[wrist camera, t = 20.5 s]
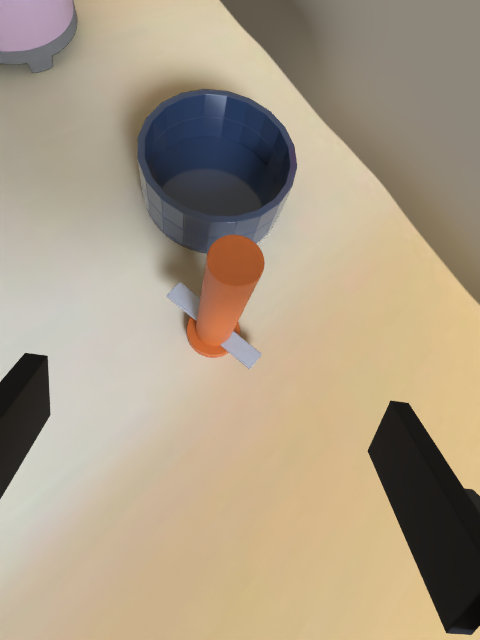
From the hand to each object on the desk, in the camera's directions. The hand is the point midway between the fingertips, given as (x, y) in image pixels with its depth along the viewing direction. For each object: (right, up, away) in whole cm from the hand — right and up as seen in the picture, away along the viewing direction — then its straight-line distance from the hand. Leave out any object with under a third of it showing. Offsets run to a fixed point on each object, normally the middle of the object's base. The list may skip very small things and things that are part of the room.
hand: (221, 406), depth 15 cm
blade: (-2, +2, +18) cm, 18 cm away
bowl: (-2, +16, +22) cm, 27 cm away
